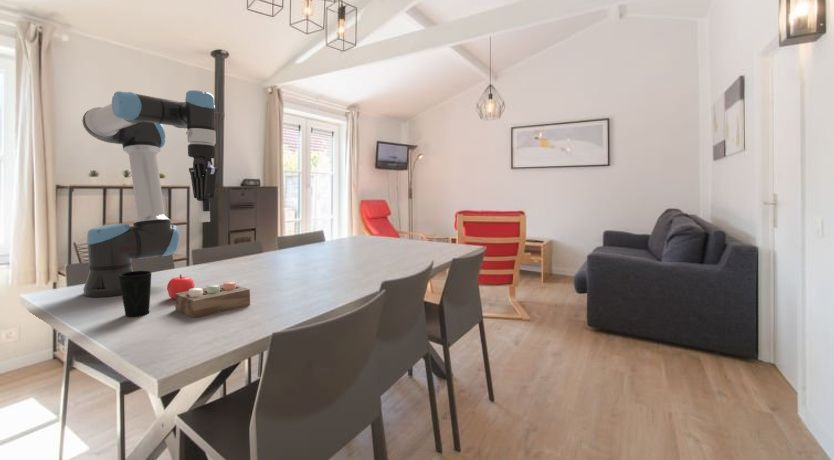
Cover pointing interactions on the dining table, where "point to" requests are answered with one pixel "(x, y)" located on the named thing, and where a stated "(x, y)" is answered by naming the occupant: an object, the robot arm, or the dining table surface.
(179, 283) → the apple
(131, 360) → the dining table surface
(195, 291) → the white egg
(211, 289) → the pale green rounded piece
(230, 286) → the coral button
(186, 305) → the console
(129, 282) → the cup
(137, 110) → the robot arm
